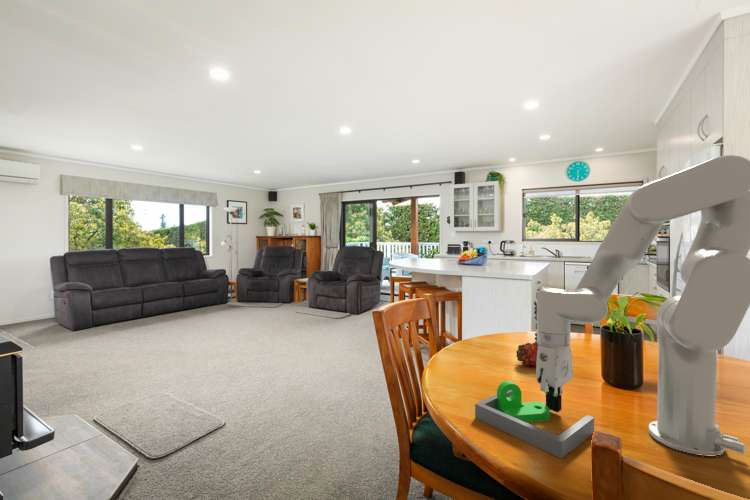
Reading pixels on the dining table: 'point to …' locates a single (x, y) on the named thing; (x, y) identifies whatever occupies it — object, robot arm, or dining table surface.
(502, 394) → the mechanical part
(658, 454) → the dining table surface
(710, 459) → the dining table surface
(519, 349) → the dragon fruit
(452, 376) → the dining table surface
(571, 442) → the u-shaped bracket
